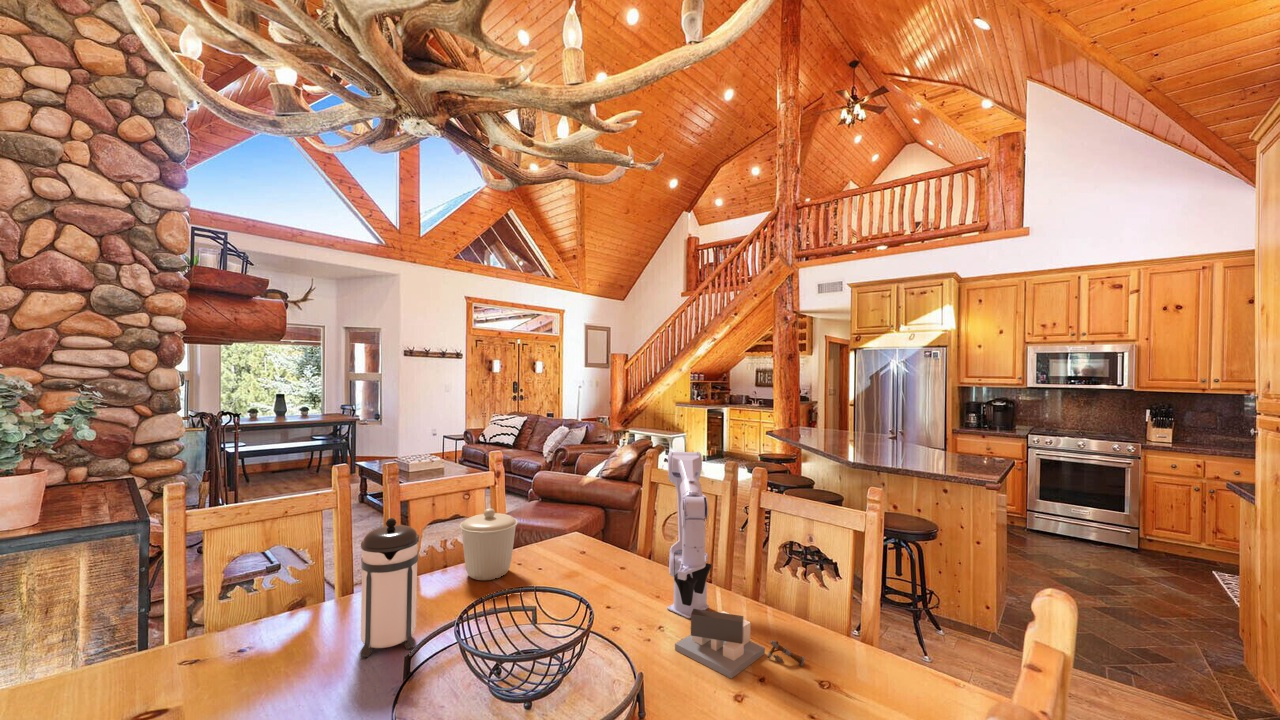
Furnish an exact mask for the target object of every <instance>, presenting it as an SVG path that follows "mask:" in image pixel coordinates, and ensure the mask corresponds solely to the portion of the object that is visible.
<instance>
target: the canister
mask: <svg viewBox="0 0 1280 720" xmlns="http://www.w3.org/2000/svg"><path fill="white" fill-rule="evenodd" d="M518 524H519V521H518V519H517V518H515V517H513V516H512V515H510V514H507V513H499V512H496V511H495V509H494V508H491V507H490V508H486V509H484V511H483V513H480V514H476V515H472V516H470V517H468V518H466V519H465V520H463V521H461V522H460V523H459V529H460V530H461V535H462V536H461V538H462V547H463V558H464V566H465V571H466V574H467V576H468V577H470V578H471V579H473V580H477V581H491V580H496V579H495V578H497V579H499V578H501V576H502V577H503V575H504V576H506V574H507V573H508V571H509V570H510V568H511V563H512V557H513V552H514V551H513V550H514V542H515V535H516V527H517V526H518Z"/></svg>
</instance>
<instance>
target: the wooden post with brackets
mask: <svg viewBox="0 0 1280 720" xmlns="http://www.w3.org/2000/svg"><path fill="white" fill-rule="evenodd" d="M770 644H771V646H772V647H771V649H770V651H768V655H767V656H766V657H767V659H771V657H773V658H775V662H776V661H777V662H778V663H783V662H784V659H783V658H782V656H780V655H779V654H774V653H775V652H776V653H777V652H778V651H780V652H782V654H784V655H785V656H787V657H788V658H792V660H794V661H796V663H798V664H799V667H801V666H802V667H803V665H804V663H805V661H806V659H805V655H802V656H799V655H798V654H794V653H793V652H792V651H791V650H790V649H787V648H786V647H785V646H782V645H780V643H779V641H778V640H770Z"/></svg>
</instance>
